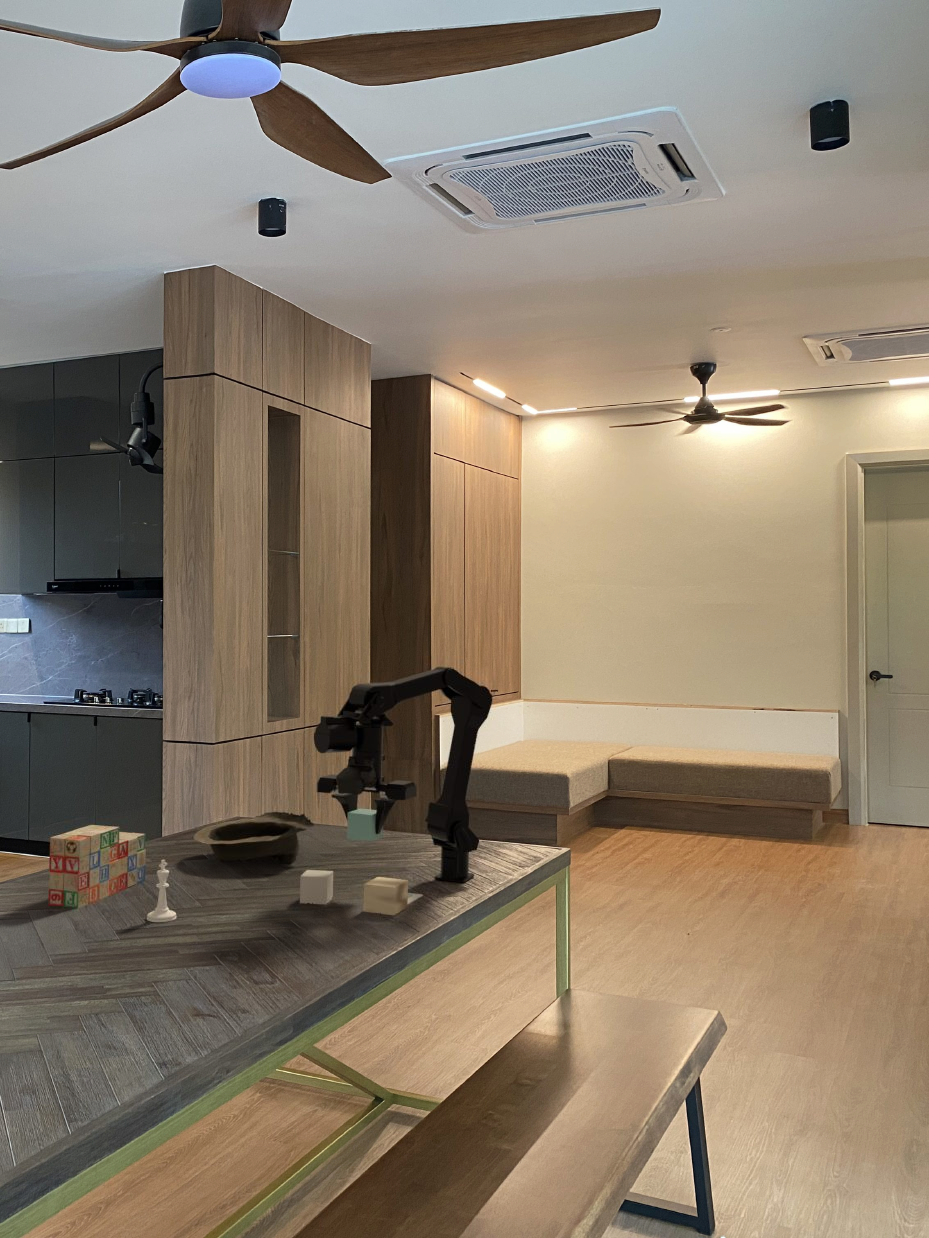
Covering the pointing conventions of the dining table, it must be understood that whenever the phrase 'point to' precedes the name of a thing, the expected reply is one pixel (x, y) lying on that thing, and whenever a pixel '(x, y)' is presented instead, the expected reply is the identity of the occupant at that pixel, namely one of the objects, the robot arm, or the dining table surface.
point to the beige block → (316, 887)
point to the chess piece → (162, 899)
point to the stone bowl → (256, 837)
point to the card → (413, 897)
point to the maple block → (385, 895)
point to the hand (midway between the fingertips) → (365, 832)
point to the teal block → (362, 825)
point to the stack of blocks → (94, 864)
